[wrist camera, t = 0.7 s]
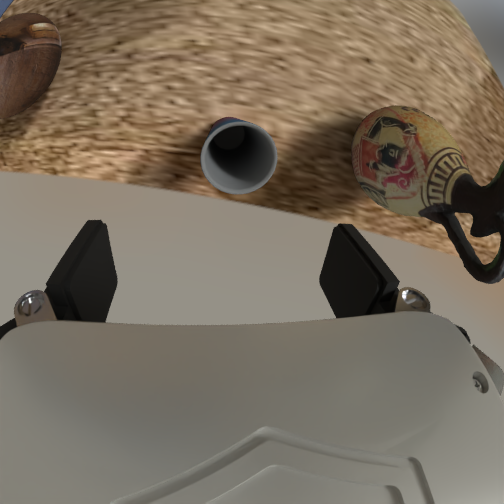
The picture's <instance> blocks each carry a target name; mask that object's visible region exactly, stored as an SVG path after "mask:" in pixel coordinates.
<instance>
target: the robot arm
mask: <svg viewBox="0 0 504 504" xmlns="http://www.w3.org/2000/svg"><path fill="white" fill-rule="evenodd" d="M319 280H320V281H319V282H320V286H321V288H322V290H323V292H324V294H325V296H326V298H327V300H328V302H329V304H330V306H331V308H332V310H333V312H334V314H335V316H336V319H324V320H312V321H300V322H284V323H266V324H242V325H146V324H123V323H106V322H105V321H106V318H107V315H108V311H109V308H110V305H111V302H112V299H113V296H114V293H115V290H116V287H117V274H116V270H115V265H114V261H113V256H112V251H111V246H110V241H109V235H108V230H107V225H106V224H105V223H103V222H102V221H101V220H88V221H87V222H86V224H85V225H84V226H83V228H82V229H81V230H80V232H79V233H78V235H77V236H76V238H75V239H74V240H73V242H72V243H71V245H70V246H69V248H68V249H67V251H66V252H65V254H64V255H63V257H62V258H61V260H60V262H59V263H58V265H57V266H56V268H55V269H54V271H53V273H52V274H51V276H50V278H49V279H48V281H47V283H46V285H47V288H46V289H45V291H44V292H43V291H40V290H34V291H30V292H27V293H26V294H24V295H23V296H21V298H19V300H18V301H17V302H16V304H15V307H14V314H15V318H14V319H12V320H10V321H9V322H7V323H5V324H4V325H2V326H0V504H504V403H503V401H502V399H501V393H502V389H503V385H504V373H503V371H502V369H501V368H500V367H499V366H498V365H497V364H496V363H495V362H494V361H493V360H491V359H490V358H489V357H488V356H486V355H485V354H484V353H483V352H482V351H481V350H479V349H478V348H477V347H476V346H475V345H472V346H471V345H470V344H471V343H470V339H469V336H468V335H467V332H466V331H465V330H464V329H463V328H462V327H459V326H457V325H455V324H453V323H452V322H451V321H450V320H449V319H447V318H444V317H442V316H439V315H436V314H433V313H431V312H430V302H429V300H428V298H427V297H426V296H425V295H424V294H423V293H422V292H420V291H418V290H416V289H414V288H411V287H404V288H402V289H400V291H399V290H398V288H397V287H398V285H399V282H400V281H399V280H398V279H397V277H396V276H395V275H394V274H393V272H392V271H391V270H390V269H389V267H388V266H387V265H386V264H385V262H384V261H383V260H382V259H381V257H380V256H379V255H378V254H377V253H376V251H375V250H374V249H373V248H372V247H371V245H370V244H369V243H368V242H367V241H366V240H365V239H364V237H363V236H362V235H361V234H360V233H359V231H358V230H357V229H356V228H355V227H354V226H353V225H352V224H338V226H337V227H334V229H333V232H332V236H331V239H330V243H329V247H328V250H327V254H326V257H325V260H324V264H323V267H322V271H321V274H320V278H319Z"/></svg>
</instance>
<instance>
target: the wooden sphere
mask: <svg viewBox="0 0 504 504" xmlns="http://www.w3.org/2000/svg"><path fill="white" fill-rule="evenodd" d="M60 58H61V38H60V34H59V32H58V30H57V28H56V26H55V25H54V24H53V22H52V21H50V20H49V19H48V18H46V17H45V16H42V15H40V14H35V13H22V14H17V15H14V16H11V17H9V18H7V19H5V20H3V21H1V22H0V119H3V118H8V117H11V116H14V115H16V114H18V113H20V112H22V111H24V110H25V109H27V108H28V107H29V106H31V105H32V104H33V103H34V102H35V101H37V100H38V99H39V98H40V96H41V95H42V94H43V93H44V92H45V91H46V89H47V88H48V86H49V85H50V83H51V82H52V80H53V78H54V76H55V74H56V71H57V69H58V66H59V62H60Z"/></svg>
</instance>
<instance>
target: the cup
mask: <svg viewBox="0 0 504 504" xmlns="http://www.w3.org/2000/svg"><path fill="white" fill-rule="evenodd" d="M276 164H277V149H276V146H275V143H274V141H273V140H272V138H271V136H270V135H269V134H268V133H267V132H266V131H265V130H264V129H262V128H261V127H259V126H257V125H255V124H253V123H250V122H247V121H243V120H240V119H237V118H233V117H225V118H222V119H220V120H218V121H217V122H216V123H215V124H214V125H213V127H212V129H211V131H210V133H209V135H208V137H207V139H206V141H205V143H204V145H203V147H202V151H201V167H202V171H203V173H204V175H205V177H206V178H207V180H208V181H209V182H210V183H211V184H212V185H213V186H214V187H216V188H217V189H219V190H220V191H223V192H226V193H230V194H245V193H250V192H252V191H255V190H257V189H259V188H260V187H262V186H263V185H264V184H265V183H266V182H267V181H268V180H269V179H270V178H271V176H272V174H273V172H274V171H275V168H276Z"/></svg>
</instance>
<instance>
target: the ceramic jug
mask: <svg viewBox="0 0 504 504" xmlns="http://www.w3.org/2000/svg"><path fill="white" fill-rule="evenodd" d="M351 149H352V164H353V170H354V174H355V177H356V179H357V181H358V183H359V184H360V185H361V188H362V189H363V190H364V192H365V193H366V194H367V195H368V196H369V198H371V199H372V200H373V201H375V202H376V203H377V204H378V205H380V206H382V207H384V208H386V209H388V210H390V211H392V212H395V213H397V214H401V215H405V216H415V217H425V218H428V219H430V220H432V221H434V222H436V223H439V224H442V225H443V226H444V227H445V229H446V231H447V233H448V237H449V238H450V240H451V241H452V243H453V244H454V246H455V248H456V250H457V252H458V254H459V256H460V258H461V259H462V261H463V264H464V267H465V268H466V269H467V271H468V272H469V273H470V274H471V275H472V276H473V277H474V278H475V279H476V280H478V281H480V282H484V283H488V284H493V283H496V282H499V281H500V280H501V279H503V278H504V160H503V162H502V164H501V165H500V168H499V171H498V173H497V174H496V176H495V177H494V178H493V180H492V181H491V182H490V183H489V184H488V185H486V186H482V187H481V186H480V185H478V184H477V183H476V182H475V181H474V179H473V177H472V175H471V173H470V171H469V168H468V165H467V163H466V161H465V158H464V156H463V154H462V153H461V151H460V149H459V147H458V145H457V144H456V142H455V141H454V139H453V137H452V136H451V135H450V133H449V132H448V131H447V130H446V129H445V128H444V127H443V126H442V125H441V124H440V123H439V122H437V121H436V120H435V119H433V118H432V117H430V116H429V115H427V114H425V113H424V112H422V111H420V110H417V109H415V108H412V107H407V106H389V107H384V108H381V109H379V110H376V111H374V112H372V113H370V114H369V115H368V116H367V117H366V118H365V119H364V120H363V121H362V122H361V123H360V125H359V127H358V128H357V130H356V132H355V135H354V138H353V141H352V145H351ZM455 212H458V213H470V214H471V215H472V216H473V224H472V227H471V230H470V234H471V235H472V236H474V237H484V236H489V235H491V234H493V233H496V232H499V233H500V235H501V242H500V248H499V251H498V254H497V255H496V257H495V258H494V260H493V261H492V262H491V263H489V264H486V265H484V264H482V263H481V261H480V260H479V258H478V257H477V255H476V254H475V251H474V249H473V248H472V246H471V244H470V243H469V241H468V240H467V238H466V236H465V233H464V231H463V229H462V227H461V225H460V223H459V221H458V219H457V218H456V216H455Z"/></svg>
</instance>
